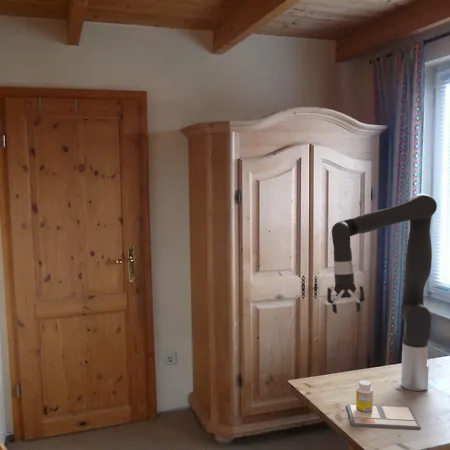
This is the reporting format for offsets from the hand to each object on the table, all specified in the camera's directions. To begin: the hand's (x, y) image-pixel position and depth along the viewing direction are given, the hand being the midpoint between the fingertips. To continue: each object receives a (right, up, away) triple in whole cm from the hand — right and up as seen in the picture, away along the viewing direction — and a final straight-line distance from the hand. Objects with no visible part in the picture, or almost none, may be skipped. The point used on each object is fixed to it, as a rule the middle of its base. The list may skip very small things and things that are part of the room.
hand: (346, 312), depth 200 cm
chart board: (+6, -31, -27) cm, 42 cm away
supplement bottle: (0, -30, -25) cm, 39 cm away
